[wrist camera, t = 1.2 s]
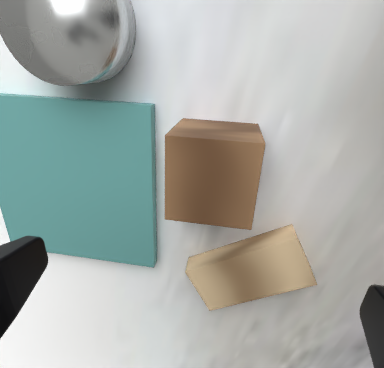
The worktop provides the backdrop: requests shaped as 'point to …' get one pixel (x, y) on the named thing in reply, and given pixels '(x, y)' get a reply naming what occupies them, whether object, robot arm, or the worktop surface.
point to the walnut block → (213, 172)
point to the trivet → (80, 176)
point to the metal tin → (69, 38)
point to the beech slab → (251, 269)
